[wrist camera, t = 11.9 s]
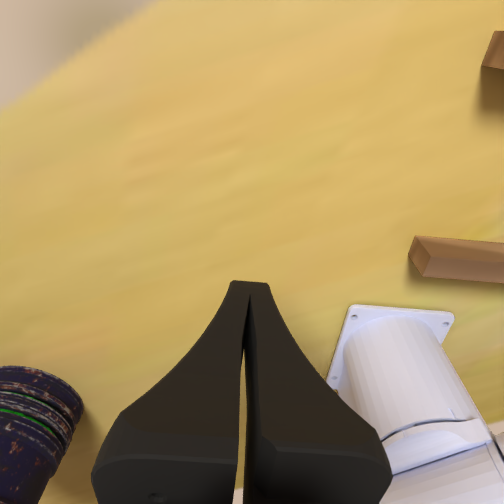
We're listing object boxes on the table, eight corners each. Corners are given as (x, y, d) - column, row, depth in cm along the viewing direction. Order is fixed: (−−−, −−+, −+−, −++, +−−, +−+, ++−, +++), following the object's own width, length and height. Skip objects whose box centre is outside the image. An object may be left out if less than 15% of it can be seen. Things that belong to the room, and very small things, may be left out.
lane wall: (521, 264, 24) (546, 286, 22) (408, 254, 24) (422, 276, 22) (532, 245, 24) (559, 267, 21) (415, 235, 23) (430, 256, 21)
